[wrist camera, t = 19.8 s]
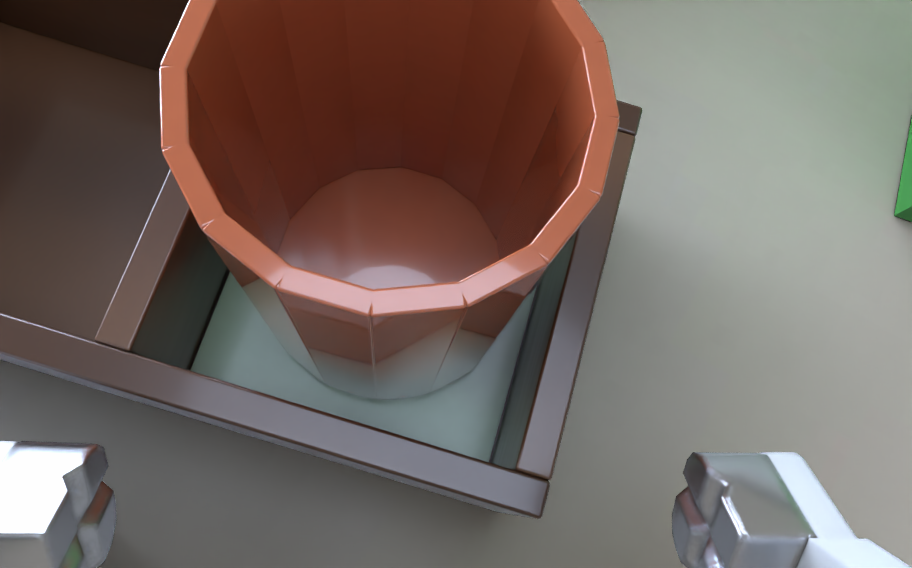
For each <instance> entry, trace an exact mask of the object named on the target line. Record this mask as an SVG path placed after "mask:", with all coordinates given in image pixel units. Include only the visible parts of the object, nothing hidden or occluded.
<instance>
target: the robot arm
mask: <svg viewBox="0 0 912 568" xmlns="http://www.w3.org/2000/svg"><path fill="white" fill-rule="evenodd" d="M107 468H108V462H107V458H106V454H105V450H104V447H102V446H100V445H98V444H86V443H59V442H32V441H21V442H10V441H0V568H97V567H98V566H100V565H101V564H102V563H103V562H105V560H106V557H107V555H108V552H109V550H110V547H111V545H112V541H113V536H114V531H115V526H116V500H115V495H114V491H113V490H112V489H111V488H110V487H109V486H107V485H106V484H105V483H104V482H103V481H102V479H103V477H104V475H105V473H106V471H107ZM683 474H684V477H685V479H686V481H687V483H688V487H687V488H685V489H684V490H683V491H682V492H681V493H679V494H678V495H677V496H676V499H675V503H674V508H673V512H672V534H673V539H674V544H675V548H676V551H677V554H678V556H679V559H680V562H681V563H682V564H683V565H684V566H686V567H687V568H912V567H911V566H909V565H908V564H906V563H905V562H903V561H901V560H900V559H898V558H897V557H895V556H894V555H892V554H891V553H889V552H888V551H886V550H885V549H883V548H882V547H880V546H879V545H877V544H875V543H874V542H872V541H871V540H869V539H858V538H857V537H856V535H855V534H854V532H853V531H852V529H851V528H850V526H849V525H848V523H847V522H846V520H845V519H844V517H843V516H842V515H841V513H840V512H839V510H838V509H837V507H836V506H835V504H834V503H833V501H832V500H831V498H830V497H829V495H828V494H827V492H826V491H825V489H824V488H823V486H822V485H821V483H820V482H819V480H818V479H817V477H816V476H815V475H814V473H813V472H812V470H811V469H810V467H809V466H808V464H807V463H806V461H805V460H804V458H803V457H802V456H800V455H799V454H797V453H796V452H761V453H723V452H693V453H692V454H691V455H690V457H689V458H688V459H687V462H686V465H685V468H684V471H683Z"/></svg>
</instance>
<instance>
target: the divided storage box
mask: <svg viewBox="0 0 912 568" xmlns="http://www.w3.org/2000/svg"><path fill="white" fill-rule="evenodd" d="M188 2H189V0H0V360H3V361H6V362H9V363H12V364H16V365H19V366H22V367H26V368H29V369H32V370H35V371H39V372H42V373H45V374H48V375H52V376H55V377H58V378H61V379H65V380H68V381H71V382H75V383H78V384H81V385H84V386H88V387H91V388H94V389H97V390H101V391H104V392H107V393H110V394H114V395H117V396H120V397H124V398H127V399H130V400H133V401H137V402H140V403H143V404H146V405H150V406H153V407H156V408H159V409H163V410H166V411H169V412H173V413H176V414H179V415H182V416H186V417H189V418H192V419H195V420H199V421H202V422H205V423H208V424H212V425H215V426H218V427H221V428H225V429H228V430H231V431H235V432H238V433H241V434H244V435H248V436H251V437H254V438H257V439H261V440H264V441H267V442H270V443H274V444H277V445H280V446H284V447H287V448H290V449H293V450H297V451H300V452H303V453H306V454H310V455H313V456H316V457H319V458H323V459H326V460H329V461H333V462H336V463H339V464H342V465H346V466H349V467H352V468H355V469H359V470H362V471H365V472H368V473H372V474H375V475H378V476H382V477H385V478H388V479H391V480H395V481H398V482H401V483H404V484H408V485H411V486H414V487H417V488H421V489H424V490H427V491H431V492H434V493H437V494H440V495H444V496H447V497H450V498H453V499H457V500H460V501H463V502H466V503H470V504H473V505H476V506H480V507H483V508H486V509H489V510H493V511H496V512H499V513H505V514H511V515H517V516H523V517H529V518H535V519H541V517H542V516H543V511H544V507H545V503H546V499H547V495H548V491H549V487H550V482H549V481H548V480H551V478H552V475H553V471H554V467H555V463H556V459H557V455H558V451H559V447H560V443H561V439H562V435H563V431H564V427H565V422H566V418H567V414H568V410H569V406H570V402H571V398H572V394H573V390H574V386H575V382H576V378H577V374H578V370H579V366H580V362H581V358H582V354H583V350H584V345H585V341H586V337H587V333H588V329H589V325H590V321H591V317H592V313H593V309H594V305H595V301H596V297H597V293H598V289H599V285H600V281H601V277H602V273H603V268H604V264H605V260H606V256H607V252H608V248H609V244H610V240H611V236H612V232H613V228H614V224H615V220H616V216H617V212H618V208H619V204H620V200H621V195H622V191H623V187H624V183H625V179H626V175H627V171H628V167H629V163H630V159H631V155H632V151H633V147H634V143H635V136H636V134H637V131H638V126H639V122H640V118H641V114H642V108H641V107H638V106H634V105H631V104H628V103H625V102H622V101H618V100H616V101H617V106H618V111H619V116H620V117H619V127H618V131H617V135H616V139H615V143H614V148H613V152H612V156H611V160H610V164H609V169H608V173H607V177H606V181H605V185H604V190H603V194H602V196H601V197H600V200H599V202H598V203H597V204H596V206H595V207H594V209H593V210H592V211H591V213H590V214H589V215H588V217H587V218H586V219H585V221H584V222H583V224H582V225H581V226H580V228H579V229H578V230H577V232H576V233H575V234H574V236H573V237H572V239H571V240H570V241H569V243H568V244H567V245H566V247H565V248H564V249H563V251H562V252H561V254H560V255H559V256H558V258H557V259H556V260H555V262H554V263H553V264H552V266H551V267H550V269H549V270H548V271H547V273H546V274H545V275H544V277H543V278H542V279H541V281H540V282H539V284H538V285H537V286H536V288H535V289H534V290H533V292H532V293H531V294H530V296H529V297H528V299H527V300H526V301H525V303H524V304H523V305H522V307H521V308H520V309H519V311H518V312H517V314H516V315H515V316H514V318H513V319H512V320H511V322H510V323H509V324H508V326H507V327H506V329H505V330H504V331H503V333H502V334H501V335H500V336H499V338H498V339H497V340H496V341H495V343H494V344H493V345H492V347H491V348H490V349H489V351H488V352H487V353H486V354H485V355H484V357H483V358H482V359H481V361H480V362H479V363H478V364H477V366H476V367H475V368H473V370H471V371H469V372H467V373H466V374H465V375H463V376H462V377H460V378H459V379H457V380H456V381H454V382H452V383H451V384H449V385H447V386H445V387H443V388H441V389H439V390H436V391H434V392H431V393H428V394H424V395H421V396H418V397H412V398H406V399H395V400H381V399H369V398H364V397H360V396H355V395H351V394H349V393H346V392H343V391H340V390H338V389H335V388H334V387H332V386H329V385H327V384H325V383H323V382H322V381H321V380H319V379H318V378H316V377H315V376H313V375H312V374H311V373H309V372H308V371H307V370H306V369H305V368H304V367H303V366H301V365H300V364H299V363H298V362H297V361H296V360H295V359H294V358H293V357H292V356H290V355H289V354H288V353H287V352H286V351H285V350H284V348H283V347H282V345H281V344H280V342H279V341H278V339H277V338H276V337H275V335H274V334H273V332H272V331H271V329H270V328H269V326H268V325H267V324H266V322H265V321H264V319H263V318H262V316H261V315H260V313H259V312H258V311H257V309H256V308H255V306H254V305H253V303H252V302H251V301H250V299H249V298H248V296H247V295H246V293H245V292H244V290H243V289H242V288H241V286H240V285H239V283H238V282H237V280H236V279H235V277H234V276H233V275H232V273H231V272H230V270H229V269H228V267H227V266H226V264H225V263H224V262H223V260H222V259H221V257H220V256H219V254H218V253H217V252H216V250H215V249H214V247H213V246H212V244H211V243H210V241H209V240H208V239H207V237H206V236H205V234H204V233H203V231H202V230H201V228H200V227H199V225H198V223H197V221H196V219H195V217H194V215H193V213H192V211H191V209H190V207H189V205H188V203H187V201H186V199H185V197H184V195H183V193H182V191H181V189H180V187H179V186H178V184H177V182H176V180H175V178H174V176H173V174H172V172H171V170H170V168H169V166H168V164H167V162H166V160H165V158H164V156H163V154H162V149H161V128H160V81H159V69H160V67H161V66H160V64H161V61H162V59H163V57H164V55H165V53H166V50H167V48H168V46H169V44H170V41H171V39H172V37H173V35H174V33H175V30H176V28H177V26H178V24H179V22H180V19H181V17H182V15H183V13H184V10H185V8H186V6H187V4H188Z"/></svg>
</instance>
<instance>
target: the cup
mask: <svg viewBox="0 0 912 568" xmlns="http://www.w3.org/2000/svg"><path fill="white" fill-rule="evenodd" d="M160 66H161V67H160V69H159V81H160V128H161V149H162V154H163V156H164V158H165V160H166V162H167V164H168V166H169V168H170V170H171V172H172V174H173V176H174V178H175V180H176V182H177V184H178V186H179V187H180V189H181V191H182V193H183V195H184V197H185V199H186V201H187V203H188V205H189V207H190V209H191V211H192V213H193V215H194V217H195V219H196V221H197V223H198V225H199V227H200V228H201V230H202V231H203V233H204V234H205V236H206V237H207V239H208V240H209V241H210V243H211V244H212V246H213V247H214V249H215V250H216V252H217V253H218V254H219V256H220V257H221V259H222V260H223V262H224V263H225V264H226V266H227V267H228V269H229V270H230V272H231V273H232V275H233V276H234V277H235V279H236V280H237V282H238V283H239V285H240V286H241V288H242V289H243V290H244V292H245V293H246V295H247V296H248V298H249V299H250V301H251V302H252V303H253V305H254V306H255V308H256V309H257V311H258V312H259V313H260V315H261V316H262V318H263V319H264V321H265V322H266V324H267V325H268V326H269V328H270V329H271V331H272V332H273V334H274V335H275V337H276V338H277V339H278V341H279V342H280V344H281V345H282V347H283V348H284V350H285V351H286V352H287V353H288V354H289V355H290V356H292V357H293V358H294V359H295V360H296V361H297V362H298V363H299V364H300V365H301V366H303V367H304V368H305V369H306V370H307V371H308V372H309V373H311V374H312V375H313V376H315V377H316V378H318V379H319V380H321V381H322V382H323V383H325V384H327V385H329V386H332V387H334V388H335V389H338V390H340V391H343V392H346V393H349V394H351V395H355V396H360V397H364V398H369V399H381V400H395V399H406V398H412V397H418V396H421V395H424V394H428V393H431V392H434V391H436V390H439V389H441V388H443V387H445V386H447V385H449V384H451V383H452V382H454V381H456V380H457V379H459V378H460V377H462V376H463V375H465V374H466V373H467V372H469V371H471V370H473V368H475V367H476V366H477V364H478V363H479V362H480V361H481V359H482V358H483V357H484V355H485V354H486V353H487V352H488V351H489V349H490V348H491V347H492V345H493V344H494V343H495V341H496V340H497V339H498V338H499V336H500V335H501V334H502V333H503V331H504V330H505V329H506V327H507V326H508V324H509V323H510V322H511V320H512V319H513V318H514V316H515V315H516V314H517V312H518V311H519V309H520V308H521V307H522V305H523V304H524V303H525V301H526V300H527V299H528V297H529V296H530V294H531V293H532V292H533V290H534V289H535V288H536V286H537V285H538V284H539V282H540V281H541V279H542V278H543V277H544V275H545V274H546V273H547V271H548V270H549V269H550V267H551V266H552V264H553V263H554V262H555V260H556V259H557V258H558V256H559V255H560V254H561V252H562V251H563V249H564V248H565V247H566V245H567V244H568V243H569V241H570V240H571V239H572V237H573V236H574V234H575V233H576V232H577V230H578V229H579V228H580V226H581V225H582V224H583V222H584V221H585V219H586V218H587V217H588V215H589V214H590V213H591V211H592V210H593V209H594V207H595V206H596V204H597V203H598V202H599V200H600V197H601V196H602V194H603V190H604V185H605V181H606V177H607V173H608V169H609V164H610V160H611V156H612V152H613V148H614V143H615V139H616V135H617V131H618V127H619V117H620V116H619V111H618V106H617V101H616V96H615V91H614V85H613V80H612V75H611V70H610V65H609V60H608V55H607V50H606V45H605V42H604V40H603V38H602V36H601V35H600V33H599V32H598V30H597V29H596V27H595V26H594V24H593V23H592V21H591V20H590V18H589V17H588V15H587V14H586V12H585V11H584V9H583V8H582V6H581V5H580V3H579V2H578V0H189V2H188V4H187V6H186V8H185V10H184V13H183V15H182V17H181V19H180V22H179V24H178V26H177V28H176V30H175V33H174V35H173V37H172V39H171V41H170V44H169V46H168V48H167V50H166V53H165V55H164V57H163V59H162V61H161V64H160Z"/></svg>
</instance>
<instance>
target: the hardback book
mask: <svg viewBox="0 0 912 568" xmlns="http://www.w3.org/2000/svg"><path fill="white" fill-rule="evenodd" d="M894 216H896V217H899V218H902V219H905V220H908V221H910V222H912V118H911V123H910V129H909V135H908V140H907V146H906V152H905V157H904V163H903V169H902V174H901V180H900V186H899V191H898V197H897V203H896V208H895V214H894Z"/></svg>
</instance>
